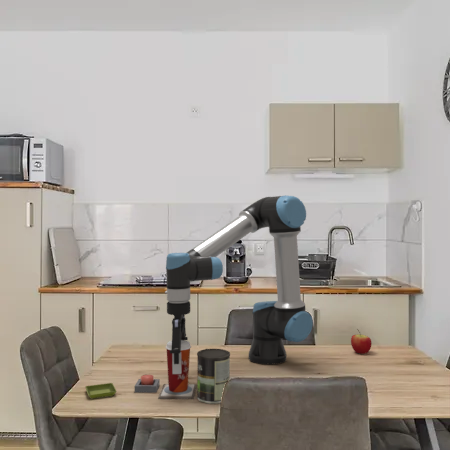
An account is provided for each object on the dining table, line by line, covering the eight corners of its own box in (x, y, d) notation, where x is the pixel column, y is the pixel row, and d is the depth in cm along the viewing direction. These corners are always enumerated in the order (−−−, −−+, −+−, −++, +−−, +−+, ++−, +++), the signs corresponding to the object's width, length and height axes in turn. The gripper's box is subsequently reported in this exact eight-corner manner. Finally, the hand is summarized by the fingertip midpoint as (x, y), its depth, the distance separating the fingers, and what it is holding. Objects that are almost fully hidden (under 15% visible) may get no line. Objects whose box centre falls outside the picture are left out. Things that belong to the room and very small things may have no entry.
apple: (354, 349, 207) (355, 326, 207) (374, 352, 202) (374, 329, 202) (347, 353, 201) (347, 329, 201) (367, 357, 196) (367, 332, 196)
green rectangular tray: (88, 401, 147) (88, 395, 147) (84, 392, 155) (84, 386, 155) (116, 397, 151) (116, 391, 151) (112, 388, 159) (112, 382, 159)
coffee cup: (187, 394, 150) (187, 346, 150) (161, 392, 152) (161, 345, 151) (194, 385, 158) (194, 340, 158) (170, 383, 160) (170, 338, 160)
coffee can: (197, 404, 144) (197, 357, 144) (196, 392, 154) (196, 348, 154) (231, 403, 145) (231, 357, 145) (228, 391, 155) (228, 348, 155)
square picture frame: (196, 386, 160) (196, 382, 160) (193, 399, 148) (193, 395, 148) (163, 385, 161) (163, 381, 161) (158, 398, 149) (158, 394, 149)
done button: (154, 383, 160) (154, 374, 160) (152, 387, 156) (152, 378, 156) (142, 382, 160) (142, 374, 160) (140, 387, 156) (140, 378, 156)
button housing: (159, 385, 161) (159, 379, 161) (156, 392, 154) (156, 386, 154) (138, 384, 161) (138, 379, 161) (134, 392, 154) (134, 386, 154)
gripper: (171, 294, 167) (172, 355, 167) (161, 308, 142) (162, 380, 142) (193, 294, 167) (194, 355, 167) (186, 308, 142) (187, 379, 142)
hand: (179, 366), depth 155 cm, fingers open, 13 cm apart
